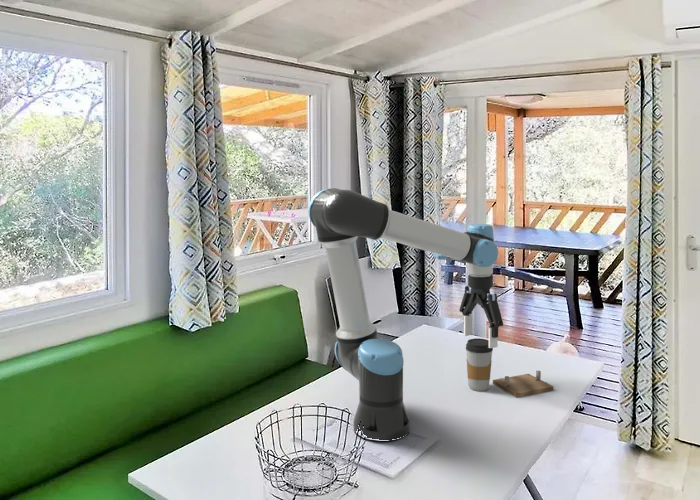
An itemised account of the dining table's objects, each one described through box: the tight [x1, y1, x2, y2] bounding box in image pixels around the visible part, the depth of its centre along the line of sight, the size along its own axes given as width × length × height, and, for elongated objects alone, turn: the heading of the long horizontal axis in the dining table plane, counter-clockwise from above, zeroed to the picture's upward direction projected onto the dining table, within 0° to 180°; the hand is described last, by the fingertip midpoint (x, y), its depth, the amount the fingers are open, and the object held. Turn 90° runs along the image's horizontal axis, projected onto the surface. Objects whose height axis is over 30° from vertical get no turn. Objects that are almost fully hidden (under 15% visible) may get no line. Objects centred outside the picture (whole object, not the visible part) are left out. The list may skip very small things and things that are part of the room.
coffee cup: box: [465, 337, 494, 392], centre depth 180 cm, size 8×8×15 cm
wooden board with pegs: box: [492, 370, 555, 398], centre depth 181 cm, size 14×12×4 cm
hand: (480, 341), depth 179 cm, fingers open, 13 cm apart
